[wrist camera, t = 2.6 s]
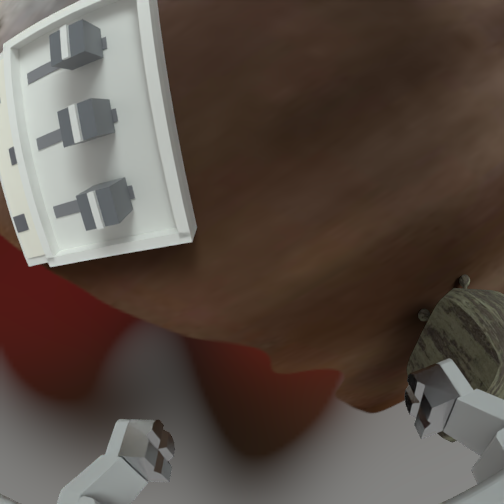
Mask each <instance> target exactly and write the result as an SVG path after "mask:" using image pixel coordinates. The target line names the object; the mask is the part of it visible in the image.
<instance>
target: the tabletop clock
mask: <svg viewBox="0 0 504 504" xmlns="http://www.w3.org/2000/svg"><path fill="white" fill-rule="evenodd" d="M459 283H460V285H461V286H462V287H463V289H460V288H453V289H452V290H451V291H450V292H449V293H447V294H446V295H445V296H444V297H443V298H442V299H441V300H440V301H439V302H438V304H437V305H436V306H435V308H434V310H433V312H432V314H431V316H430V313H429V311H428V310H427V309H422V310H420V311H419V313H418V318H419V319H420V320H421V321H428V322H427V323H426V325H425V327H424V329H423V331H422V333H421V335H420V337H419V339H418V341H417V344H416V346H415V348H414V350H413V352H412V354H411V356H410V359H409V362H408V365H407V374H408V375H409V374H410V373H412V372H414V371H417V370H420V369H422V368H425V367H427V366H430V365H432V364H436V363H438V362H441V361H443V360H446V359H448V358H450V359H452V360H453V362H454V363H455V364H456V366H457V367H458V368H459V370H460V371H461V373H462V374H463V375H464V377H465V378H466V380H467V381H468V383H469V384H470V386H471V387H472V388H473V390H475V389H479V390H482V391H484V392H486V393H489V394H491V395H493V396H496V397H498V398H501V399H503V400H504V294H502V293H500V292H497V291H492V290H477V289H467V286H468V285H469V283H470V278H469V277H468V276H467V275H462V276H461V277H460V278H459ZM443 431H444V430H443ZM443 431H441V432H438V434H439V435H440V436H441V437H442V438H444V439H446V440H448V441H450V442H455V441H457V440H455V439H453V438H452V437H450V436H449V435H447V434H446V433H444V432H443Z"/></svg>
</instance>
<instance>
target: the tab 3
mask: <svg viewBox="0 0 504 504" xmlns="http://www.w3.org/2000/svg"><path fill="white" fill-rule="evenodd" d="M76 199H77V202H78V206H79V209H80V213H81V216H82V219H83V223H84V226H85V229H86V231H88V230H92V229H97V230H99V229H103V228H105V227H106V226H110V225H115V224H120V223H121V222H122V221H123V220H124V219H125V218H126V216H127V215H128V214H129V213H130V212H131V211H132V210H133V206H132V202H131V199H130V195H129V191H128V187H127V183H126V178H125V177H123V178H119V179H115V180H111V181H108V182H104V183H100V184H97V185H94V186H92V187H90V188H88V189H87V190H85V191H83V192H81V193H80V194H78V195H76Z"/></svg>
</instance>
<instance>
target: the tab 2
mask: <svg viewBox="0 0 504 504" xmlns="http://www.w3.org/2000/svg"><path fill="white" fill-rule="evenodd" d="M57 114H58V120H59V125H60V131H61V136H62V141H63V146H64V148H65V147H68V146H72V145H76V144H80V143H84V142H87V141H90V140H93V139H96V138H99V137H102V136H105V135H108V134H112V133H115V127H114V122H113V117H112V111H111V105H110V99H98V98H90V99H87V100H85V101H82V102H80V103H77V104H72V105H70V106H68V107H67V108H65V109H63V110H60V111H58V112H57Z"/></svg>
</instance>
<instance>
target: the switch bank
mask: <svg viewBox="0 0 504 504" xmlns="http://www.w3.org/2000/svg"><path fill="white" fill-rule="evenodd" d="M82 19H83V20H85V21H87V22H89V23H91V24H93V25H94V26H96V27H98V28H100V29H101V40H102V49H103V58H101V59H99V60H96V61H93V62H91V63H88V64H86V65H84V66H81V67H79V68H76V69H74V70H68V69H63V68H57V67H51V57H50V42H49V35H51V34H53V33H54V32H56V31H58V30H60V27H62V26H64V25H68V26H69V25H71V24H73V23H75V22H77V21H79V20H82ZM90 98H98V99H110V105H111V111H112V117H113V122H114V127H115V133H112V134H108V135H105V136H102V137H99V138H96V139H93V140H90V141H87V142H84V143H80V144H76V145H72V146H68V147H65V148H64V146H63V141H62V136H61V131H60V125H59V120H58V114H57V112H58V111H60V110H63V109H65V108H67V107H68V106H70V105H72V104H77V103H80V102H82V101H85V100H87V99H90ZM123 177H125V178H126V183H127V187H128V191H129V195H130V199H131V202H132V206H133V210H132V211H131V212H130V213H129V214H128V215H127V216H126V218H125V219H124V220H123V221H122V222H121V223H120V224H115V225H110V226H106V227H105V228H103V229H99V230H97V229H92V230H88V231H86V229H85V226H84V223H83V219H82V216H81V213H80V209H79V206H78V202H77V199H76V195H78V194H80V193H81V192H83V191H85V190H87V189H88V188H90V187H92V186H94V185H97V184H100V183H104V182H108V181H111V180H115V179H119V178H123ZM0 180H1V184H2V188H3V192H4V195H5V199H6V202H7V206H8V209H9V212H10V216H11V219H12V222H13V225H14V228H15V231H16V234H17V237H18V239H19V242H20V245H21V248H22V250H23V253H24V256H25V258H26V261H27V263H28V265H29V266H33V265H38V264H43V263H48V264H49V266H50V267H54V266H60V265H65V264H70V263H76V262H81V261H87V260H92V259H98V258H103V257H109V256H114V255H120V254H125V253H131V252H137V251H143V250H148V249H154V248H160V247H166V246H172V245H178V244H184V243H190V242H192V241H193V238H194V235H195V232H196V229H197V225H196V221H195V216H194V212H193V207H192V202H191V198H190V193H189V188H188V184H187V179H186V174H185V169H184V164H183V159H182V154H181V149H180V143H179V138H178V133H177V127H176V122H175V116H174V111H173V105H172V99H171V93H170V87H169V81H168V75H167V69H166V62H165V56H164V49H163V42H162V35H161V27H160V20H159V12H158V4H157V0H80V1H78V2H76V3H74V4H72V5H70V6H68V7H66V8H64V9H62V10H60V11H58V12H56V13H54V14H52V15H50V16H48V17H46V18H45V19H43V20H41V21H39V22H38V23H36V24H34V25H32V26H31V27H29V28H27V29H26V30H24V31H23V32H21V33H19V34H18V35H16V36H15V37H13V38H12V39H10V40H9V41H7V42H6V43H4V44H3V52H2V53H0Z"/></svg>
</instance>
